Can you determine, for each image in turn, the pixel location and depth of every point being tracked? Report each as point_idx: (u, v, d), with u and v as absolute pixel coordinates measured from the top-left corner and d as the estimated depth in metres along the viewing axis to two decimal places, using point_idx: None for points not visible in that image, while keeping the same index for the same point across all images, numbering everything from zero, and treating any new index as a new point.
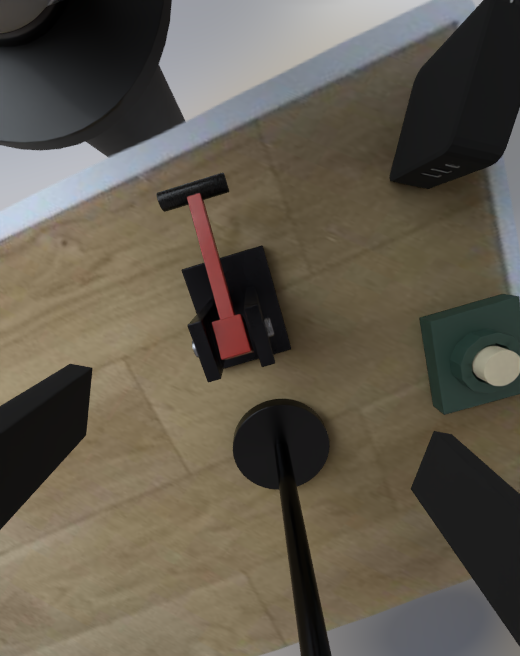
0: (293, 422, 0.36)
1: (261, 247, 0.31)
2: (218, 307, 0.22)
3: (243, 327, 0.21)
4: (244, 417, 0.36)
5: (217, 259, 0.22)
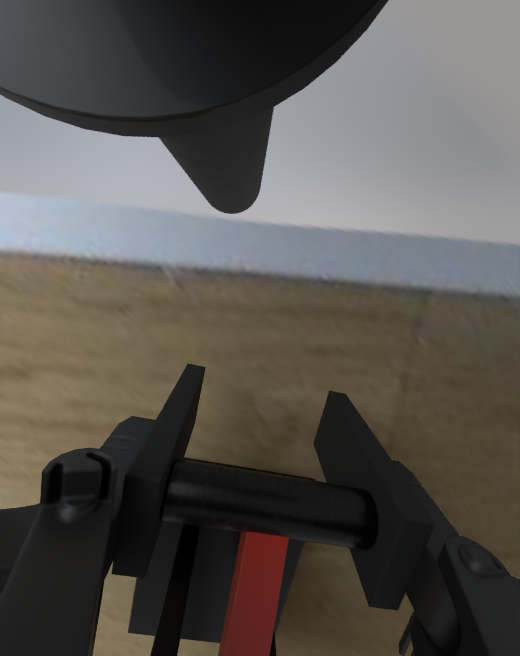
0: None
1: None
2: None
3: None
4: None
5: None
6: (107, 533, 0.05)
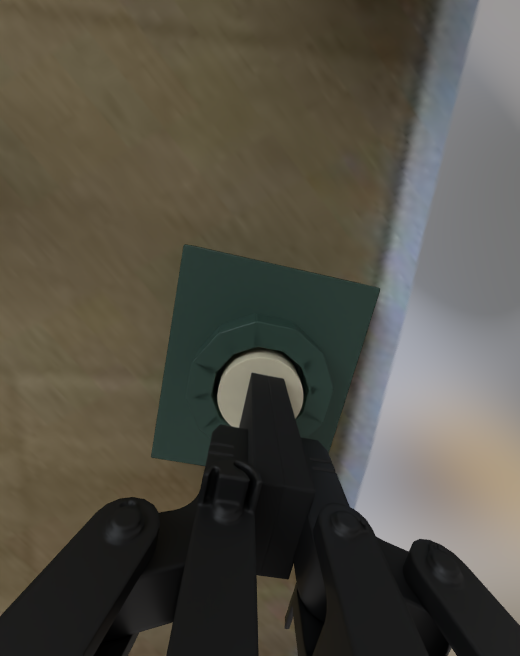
0: None
1: None
2: None
3: None
4: None
5: None
6: (254, 542, 0.06)
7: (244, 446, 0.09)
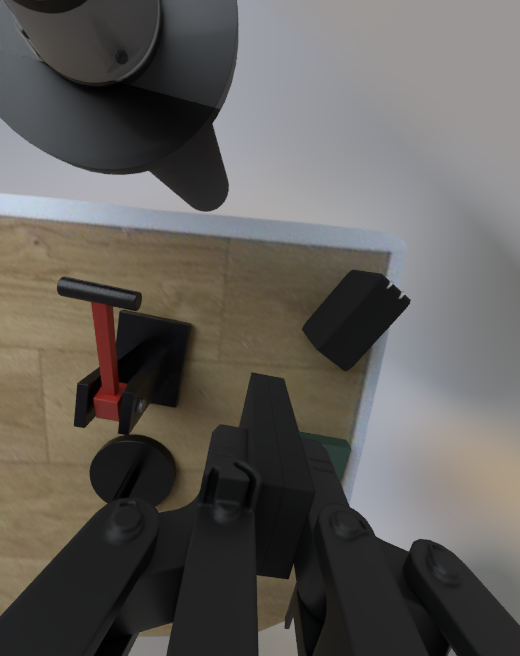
0: (151, 461, 0.42)
1: (188, 326, 0.38)
2: (103, 386, 0.27)
3: (117, 409, 0.28)
4: (115, 439, 0.42)
5: (110, 359, 0.25)
6: (254, 542, 0.06)
7: (244, 446, 0.09)
